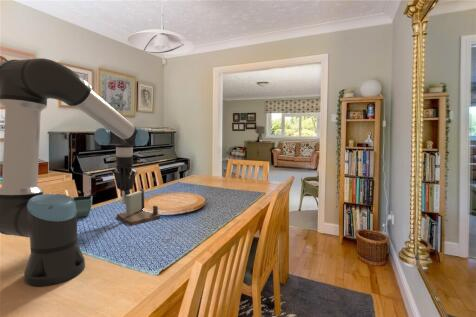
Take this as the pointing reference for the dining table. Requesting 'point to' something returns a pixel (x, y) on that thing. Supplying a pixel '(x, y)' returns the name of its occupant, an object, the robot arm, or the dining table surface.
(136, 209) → the gate
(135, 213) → the board
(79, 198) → the flower pot
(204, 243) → the dining table surface
